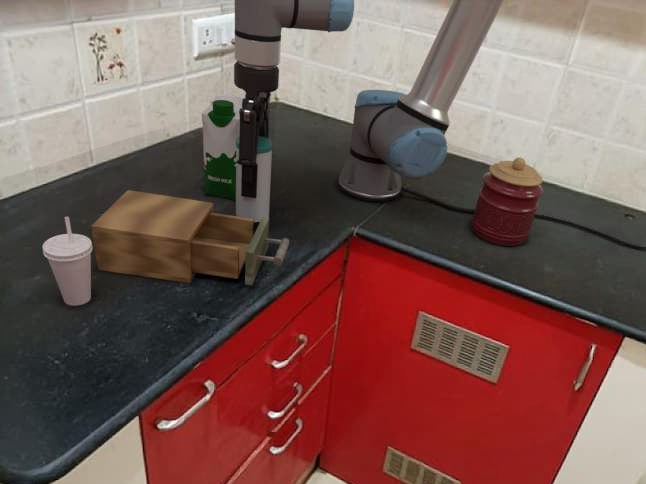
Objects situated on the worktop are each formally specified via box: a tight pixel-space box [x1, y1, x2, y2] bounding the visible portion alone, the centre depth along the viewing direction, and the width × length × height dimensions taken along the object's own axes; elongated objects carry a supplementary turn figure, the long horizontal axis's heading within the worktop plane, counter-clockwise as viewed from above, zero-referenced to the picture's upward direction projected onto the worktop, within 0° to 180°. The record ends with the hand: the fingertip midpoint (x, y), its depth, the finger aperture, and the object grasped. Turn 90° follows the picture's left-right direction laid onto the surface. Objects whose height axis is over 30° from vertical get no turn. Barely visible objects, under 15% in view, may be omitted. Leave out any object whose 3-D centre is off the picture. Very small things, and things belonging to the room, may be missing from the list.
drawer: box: [190, 212, 290, 286], centre depth 96 cm, size 18×13×6 cm
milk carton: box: [201, 100, 242, 201], centre depth 117 cm, size 9×9×20 cm
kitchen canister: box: [470, 157, 544, 247], centre depth 120 cm, size 13×13×18 cm
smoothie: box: [42, 216, 94, 307], centre depth 81 cm, size 6×6×14 cm
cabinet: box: [90, 189, 215, 284], centre depth 96 cm, size 15×14×8 cm
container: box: [235, 136, 274, 223], centre depth 105 cm, size 7×7×15 cm
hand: (253, 188), depth 106 cm, fingers closed on container, 6 cm apart
